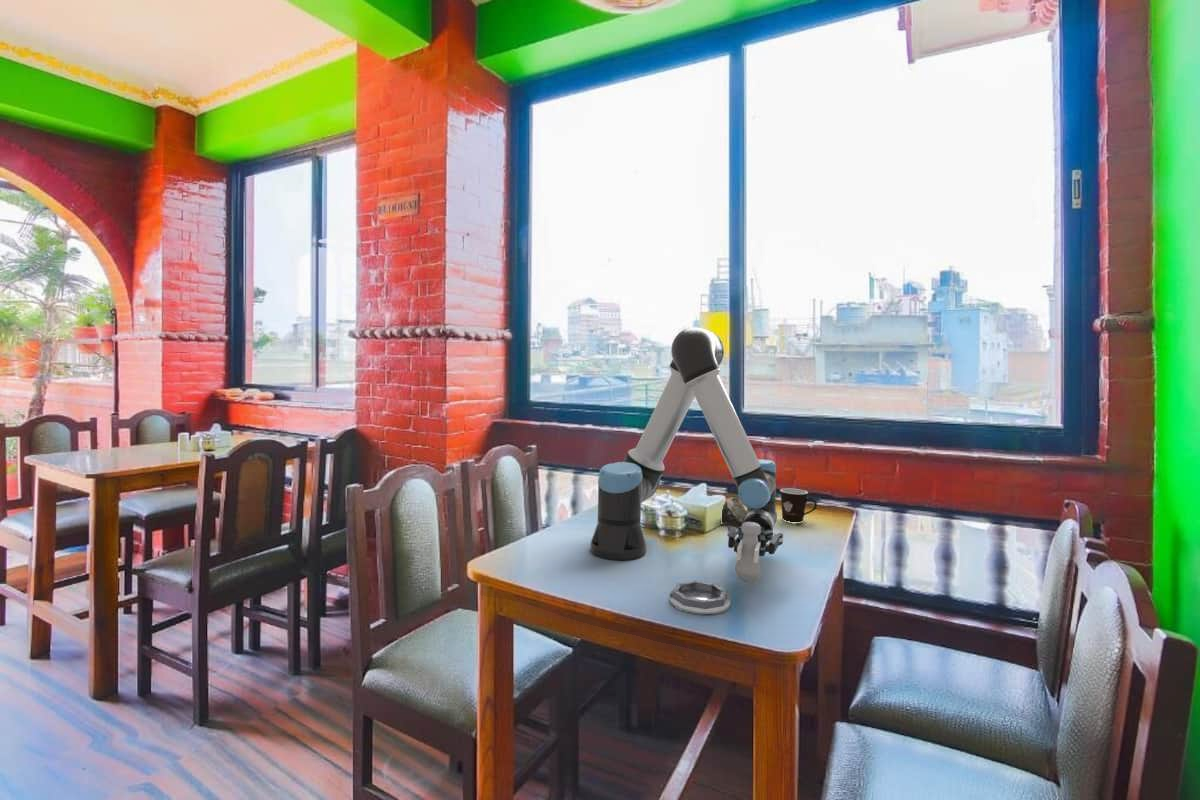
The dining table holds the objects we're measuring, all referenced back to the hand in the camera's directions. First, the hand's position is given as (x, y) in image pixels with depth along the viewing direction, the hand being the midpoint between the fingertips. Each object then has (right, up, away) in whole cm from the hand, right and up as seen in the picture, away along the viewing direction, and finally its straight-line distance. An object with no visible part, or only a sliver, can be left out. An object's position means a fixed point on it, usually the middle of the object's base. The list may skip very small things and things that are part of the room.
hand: (747, 555), depth 130 cm
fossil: (+12, -6, +63) cm, 64 cm away
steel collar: (-10, -10, 0) cm, 14 cm away
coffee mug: (+32, -7, +66) cm, 74 cm away
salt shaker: (+1, -7, +6) cm, 9 cm away
